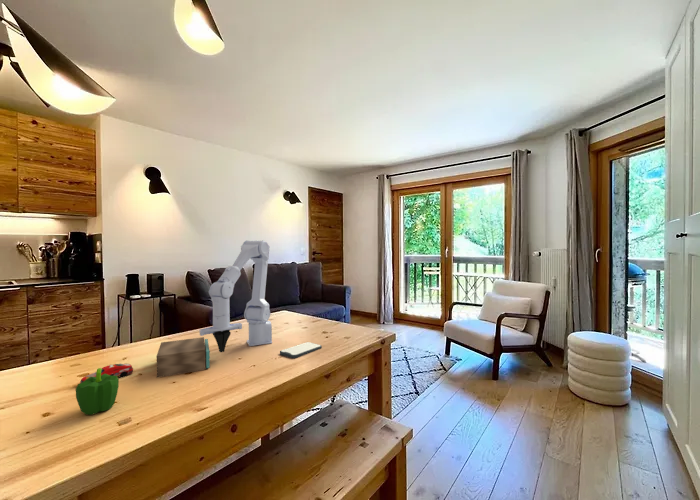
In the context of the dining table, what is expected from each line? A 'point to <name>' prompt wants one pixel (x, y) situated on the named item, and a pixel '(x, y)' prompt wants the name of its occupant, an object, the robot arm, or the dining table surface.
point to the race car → (113, 371)
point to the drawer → (207, 354)
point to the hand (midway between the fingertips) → (221, 351)
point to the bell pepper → (97, 393)
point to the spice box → (181, 357)
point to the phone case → (300, 350)
